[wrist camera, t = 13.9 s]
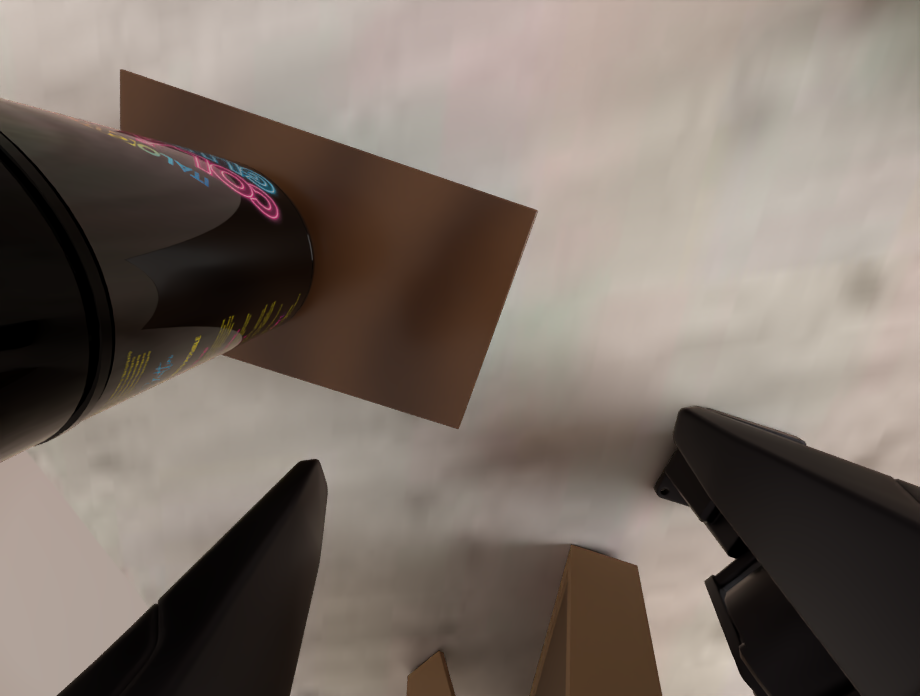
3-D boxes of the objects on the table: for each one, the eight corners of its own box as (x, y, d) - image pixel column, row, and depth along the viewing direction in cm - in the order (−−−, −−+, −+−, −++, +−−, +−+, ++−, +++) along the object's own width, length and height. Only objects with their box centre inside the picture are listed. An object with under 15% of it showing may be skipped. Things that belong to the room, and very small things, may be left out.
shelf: (523, 215, 19) (538, 210, 13) (465, 381, 22) (458, 429, 17) (224, 114, 18) (119, 68, 13) (209, 300, 21) (120, 323, 16)
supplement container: (354, 232, 14) (49, 242, 4) (279, 359, 16) (-46, 566, 6) (199, 119, 13) (-647, -202, 3) (140, 269, 15) (-498, 345, 5)
